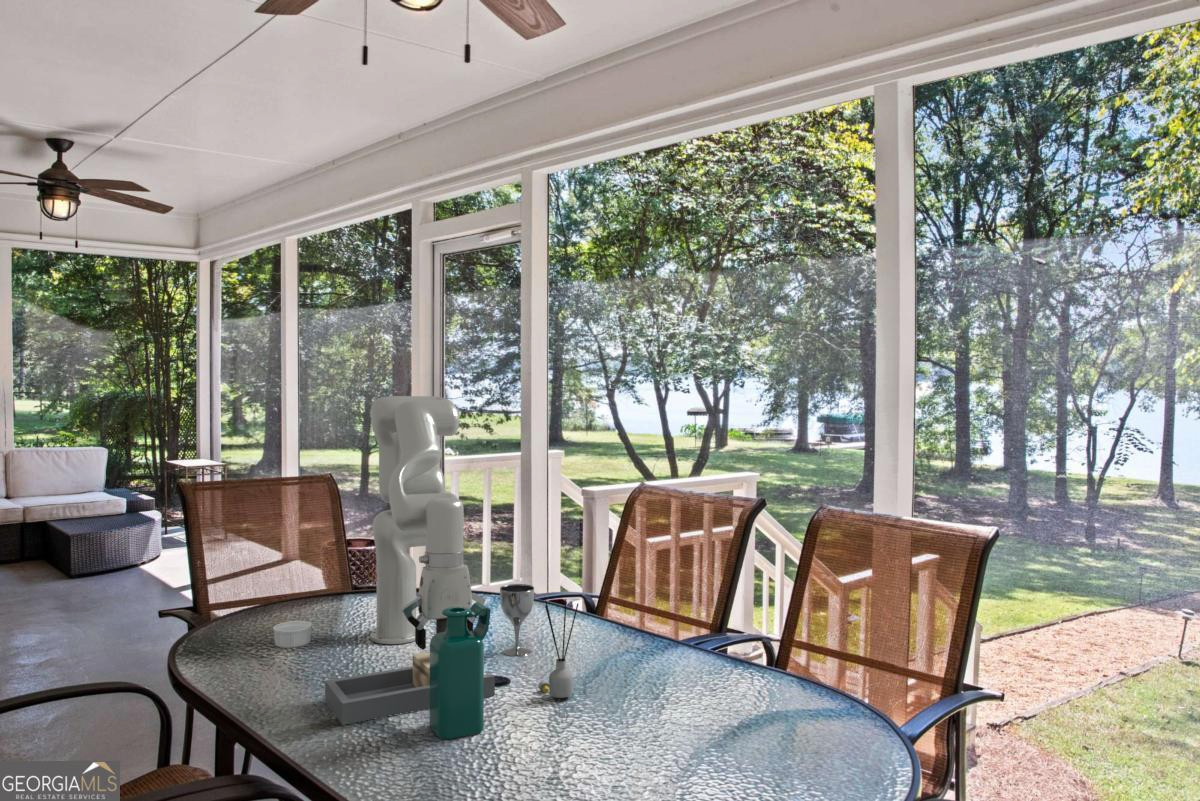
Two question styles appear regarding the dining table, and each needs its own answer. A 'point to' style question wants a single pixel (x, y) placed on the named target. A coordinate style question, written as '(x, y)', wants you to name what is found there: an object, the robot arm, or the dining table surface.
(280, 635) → the ramekin
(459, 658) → the pitcher
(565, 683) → the reed diffuser
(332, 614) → the dining table surface
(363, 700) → the bay
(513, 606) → the wine glass
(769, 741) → the dining table surface
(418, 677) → the rubber stamp
